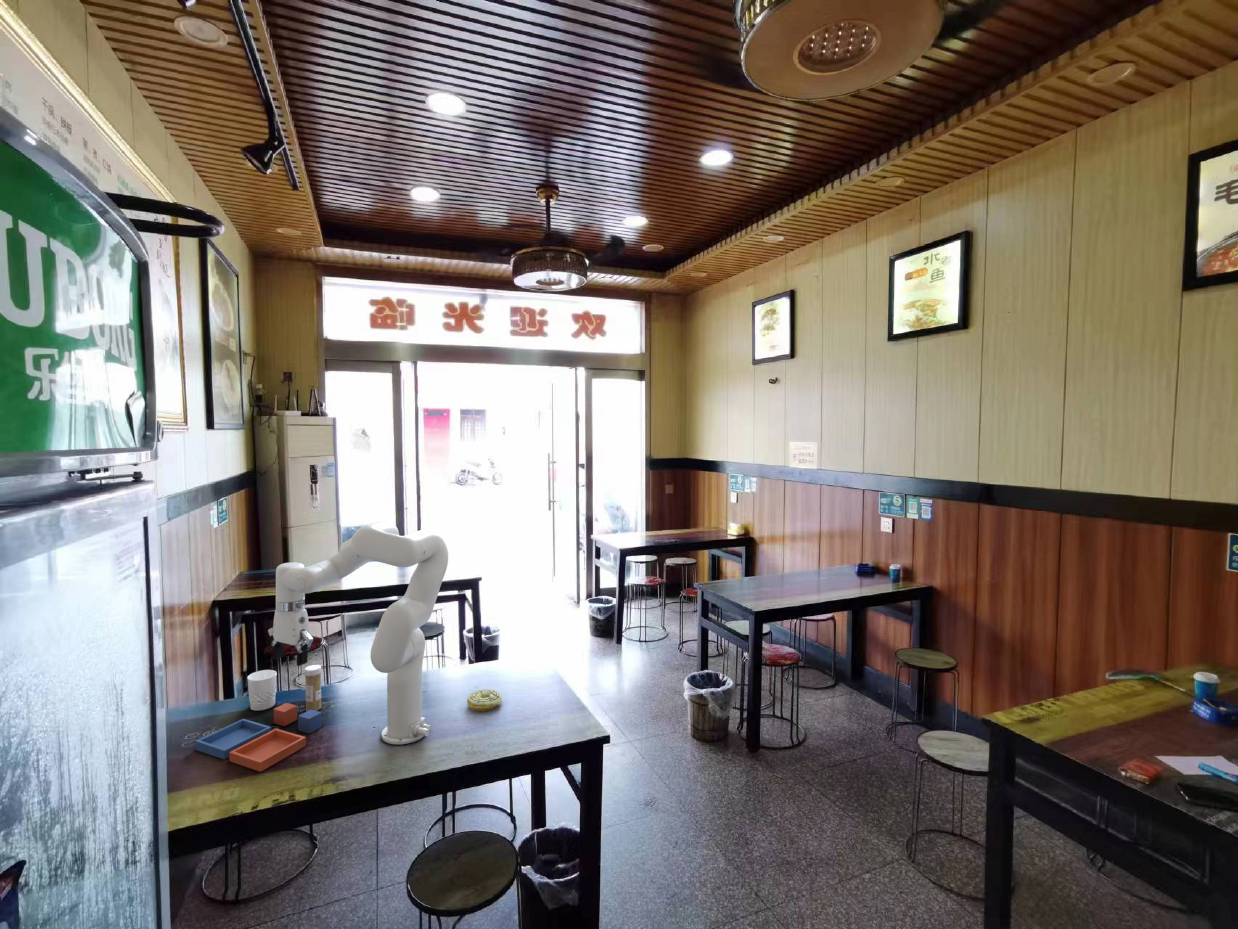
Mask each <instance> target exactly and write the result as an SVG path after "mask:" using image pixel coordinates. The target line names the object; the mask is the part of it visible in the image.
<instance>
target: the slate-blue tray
mask: <svg viewBox="0 0 1238 929" xmlns="http://www.w3.org/2000/svg"><path fill="white" fill-rule="evenodd" d="M270 731H272V726H269V725H266V724H263V723H259V722H256V721H252V720H249V719H246V718H242V719H239V720H238V721H235V722H233V723H231V724H229V725H227V726H224V727H222V728H219V729H218V730H216V731H214V732H212V733H210V734H208V735H205V736H203V737H201V738H198V739H197V740H195V742H194V743H195V751H198V752H201V753H204V754H207V755H210V756H213V757H215V758H219V759H222V760H227V759H230V758H229V752H231V751H233V750H235V749H237V748H239V747H241V746H243V745H245V744H247V743H249V742H251V741H252V740H254V739H256V738H258V737H260V736H262V735H264V734H266V733H268V732H270Z"/></svg>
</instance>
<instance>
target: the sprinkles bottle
mask: <svg viewBox="0 0 1238 929" xmlns="http://www.w3.org/2000/svg"><path fill="white" fill-rule="evenodd" d="M321 673H322V666H321V665H320V664H312V665H309V666H306V667H305V668H304V676H305V677H304V678H305V685H304V686H305V687H304V688H305V712H307V711H309V710H315V711H319V710H321V709H322V707H323V706H322V705H323V704H322V679H321V678H322V677H321Z"/></svg>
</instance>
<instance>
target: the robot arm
mask: <svg viewBox="0 0 1238 929" xmlns="http://www.w3.org/2000/svg"><path fill="white" fill-rule="evenodd" d="M399 531H400V530H399V529H398V527H397V526H396V525H395V524H393V523H392V522H391V521H385V520H383V521H377V522H374V523H369V524H367V525H363V526H361V527H359V528H358V529H357V530H356V531H355V532H354V533H353V535H352V537H350V538H349V539H346V540H345V541H344V542H343V543H341V544H340V546H339V550H338V552H337V553H335V554H334V555H332V556H330V557H328V558H327V559H325V560H323V561H319V562H315V563H313V564H310V565H307V566H305V565H304V564H303V563H301V562H297V561H296V562H294V561H293V562H284V563H281V564H279V565H278V566H277V567H276V569H275V610H274V616H273V625H272V627H271V628H269V629H268V630H267V633H268V635H269V640H270V641H271V646H272V659H273V660H276V661H277V660H279V659H281V658H283V657H285V644H287V645H290V646H295V648H296V650H297V652H296V667H300V666H303V665H305V664H308V651H309V650H310V648H311V647H312V644H313V642H314V637H312V636H311V635H310V622H309V615H308V611H307V609H306V594H311V593H314V592H317V591H320V590H321V589H324V588H326V587H329V586H331V585H334V584H335V583H337V582H339V581H340V580H342V579H344V578H346V577H347V576H349V575H351V574H352V573H353V572H355V571H357V570H358V569H360V568H362V567H363V566H365V565H366V564H368V563H369V562H371V561H374V562H378V563H381V564H385V565H389V566H392V567H396V568H411V567H413V566H415V565H416V568H415V569H414V571H413V573H412V575H411V576H410V579H409V583H408V586H407V589H406V591H405V593H404V595H403V596H402V597H401V598H400V599H399V600H397V601H395V602H392V604H390V605H389V606H388V607H387V608H386V610H385V611H384V612H383V614H382V616H381V618H380V621H379V623H378V624H379V625H378V627H377V630H376V633H375V637H374V639H373V642H372V644H371V649H370V654H369V655H370V656H369V657H370V663H371V664H372V666H373V668H374V670H376V671H378V672H380V673H382V674H386V725H387V726H385V727H384V728H383V729H382V730H381V734H380V735H381V740H382V741H383V742H385V743H386V744H389V745H397V746H398V745H407V744H412V743H416V741H419V740H421V739H422V738H423V737H428V736H429V735H430V732H431V730H432V727H433V726H432V725H430V724H427V723H426V717H424V716H423V664H424V656H425V650H426V637H425V634H424V632H423V631H422V630H421V627H422V626H423V625H425V624H426V623H427V622H428V621H429V620H430V619H431V617H432V613H433V611H434V607H435V604H436V603H437V602H436V601H437V599H438V596H439V592H440V588H441V586H442V583H443V579H444V578H445V574H446V571H447V569H448V564H449V551H448V547H447V544H446V542H445V541H444V539H443V538H442V536H441V535H440V534H438V533H437V532H436V531H434V530H431V529H420V530H416V531H414V532H410V533H407V534H405V535H400V533H399ZM301 645H302V646H301Z"/></svg>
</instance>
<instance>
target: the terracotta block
mask: <svg viewBox="0 0 1238 929" xmlns="http://www.w3.org/2000/svg"><path fill="white" fill-rule="evenodd" d="M296 721H298V705H296V704H293V703H290V702H285V703H283V704H281V705H279V706H277V707H274V708H273V724H275V725H279V726H282V727H286V726H288V725H290V724H292V723H294V722H296Z"/></svg>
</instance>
